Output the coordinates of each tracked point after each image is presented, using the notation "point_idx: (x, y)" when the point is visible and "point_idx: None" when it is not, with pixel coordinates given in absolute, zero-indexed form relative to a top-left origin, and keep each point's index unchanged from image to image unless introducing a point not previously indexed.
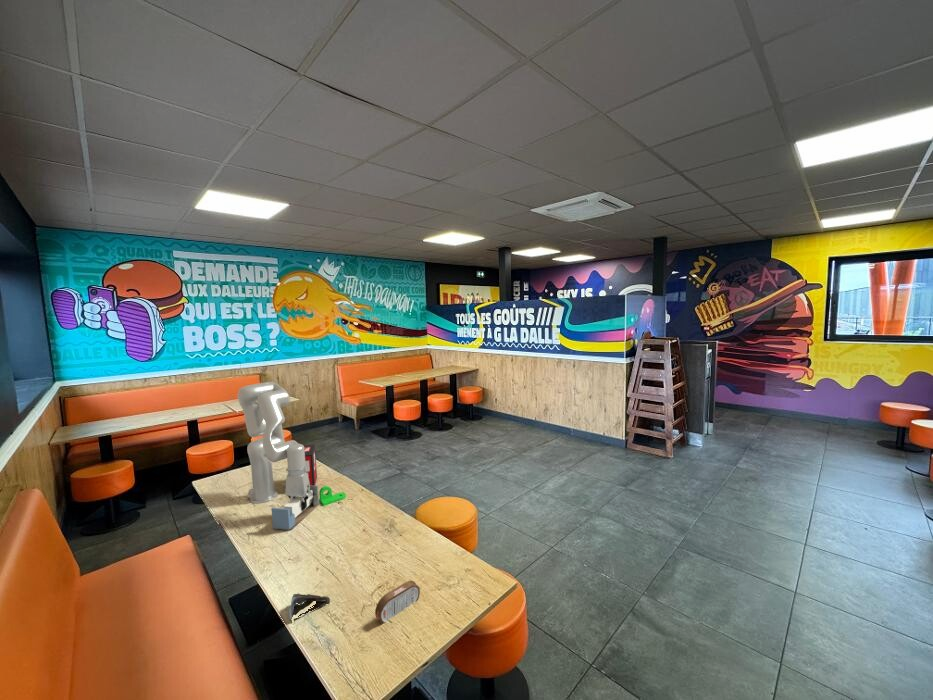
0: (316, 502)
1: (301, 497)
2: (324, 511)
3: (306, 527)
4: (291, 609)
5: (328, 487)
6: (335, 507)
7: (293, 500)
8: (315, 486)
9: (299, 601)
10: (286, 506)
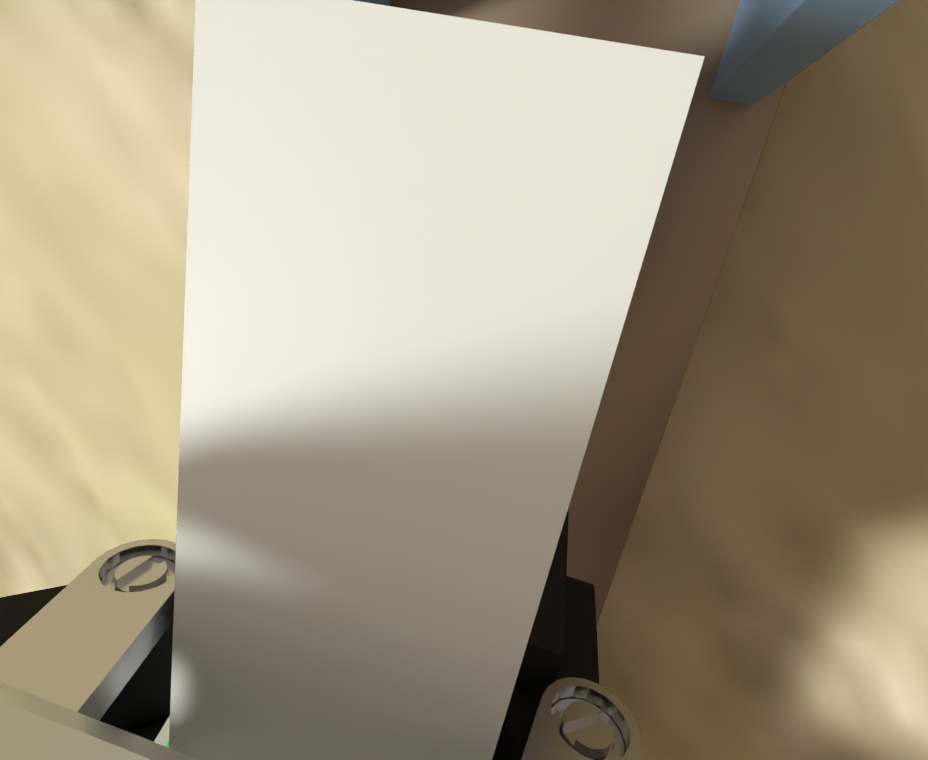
0: None
1: (70, 686)
2: (139, 500)
3: (166, 31)
4: None
5: None
6: (55, 574)
7: (434, 622)
8: None
9: None
10: (532, 35)
